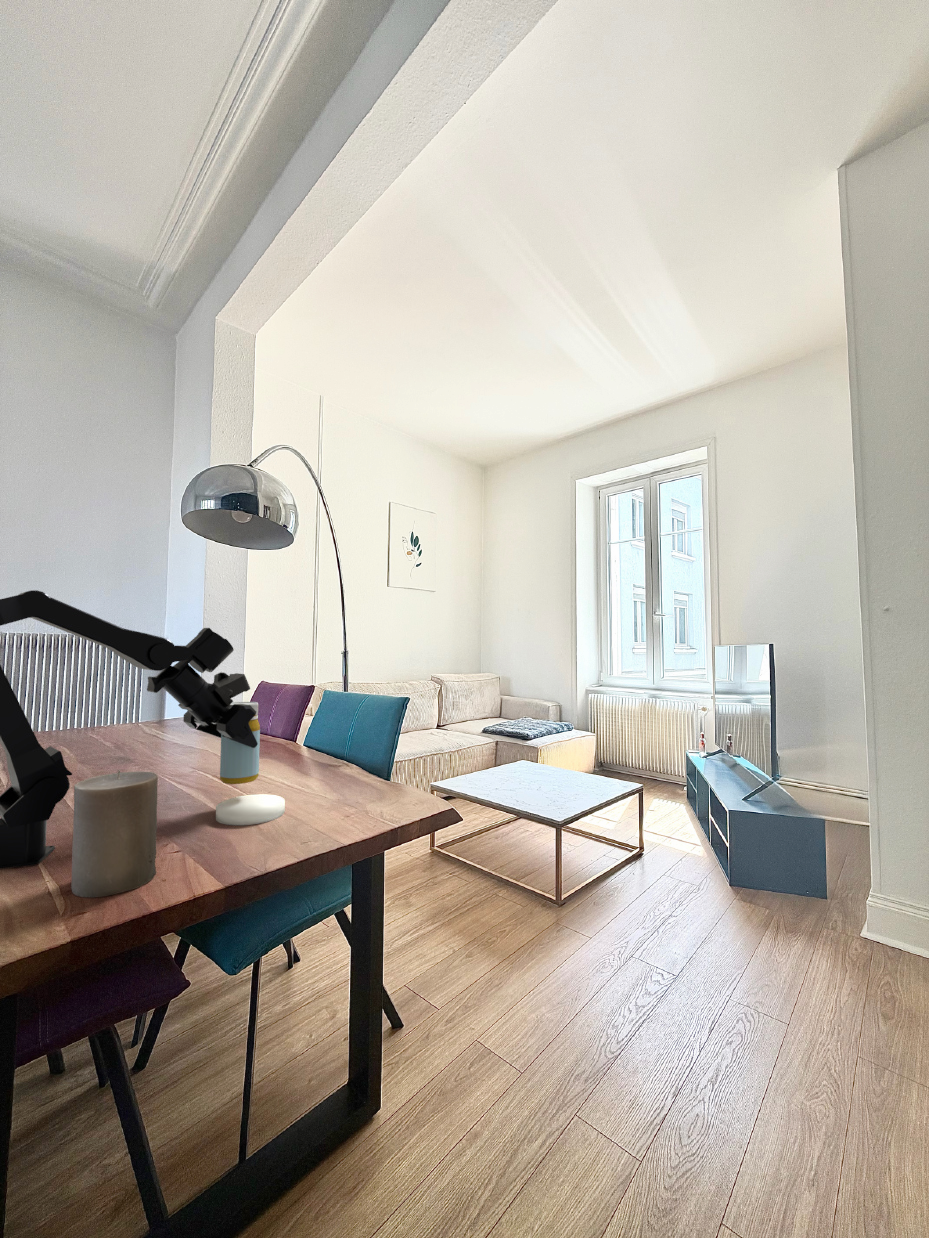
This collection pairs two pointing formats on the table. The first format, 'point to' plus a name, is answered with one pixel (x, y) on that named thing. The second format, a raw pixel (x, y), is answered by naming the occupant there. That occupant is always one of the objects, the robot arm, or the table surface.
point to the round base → (250, 809)
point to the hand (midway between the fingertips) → (246, 743)
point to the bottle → (240, 755)
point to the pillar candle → (114, 833)
